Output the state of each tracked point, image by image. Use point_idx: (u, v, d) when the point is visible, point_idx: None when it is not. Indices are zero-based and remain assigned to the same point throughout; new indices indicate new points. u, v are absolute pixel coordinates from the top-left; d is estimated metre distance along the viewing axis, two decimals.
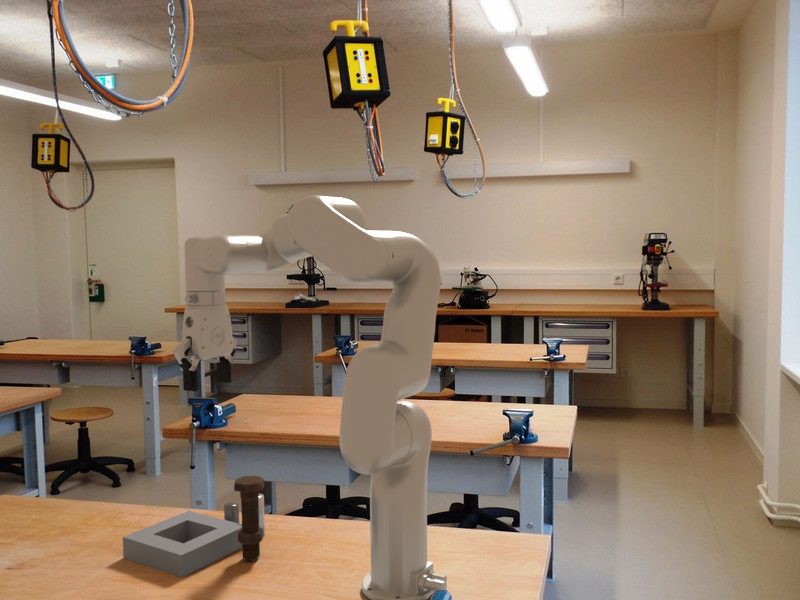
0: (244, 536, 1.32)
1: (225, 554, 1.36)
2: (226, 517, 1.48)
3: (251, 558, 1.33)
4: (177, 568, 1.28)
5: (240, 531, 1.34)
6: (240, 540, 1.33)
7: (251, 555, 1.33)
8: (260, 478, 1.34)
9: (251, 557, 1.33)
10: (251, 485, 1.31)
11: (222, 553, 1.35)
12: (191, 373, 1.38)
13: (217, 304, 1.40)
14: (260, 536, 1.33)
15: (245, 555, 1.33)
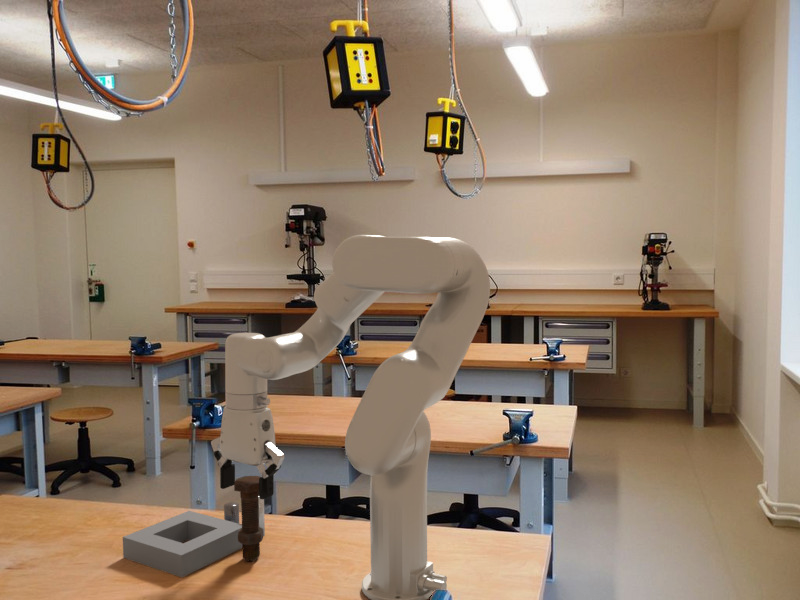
0: (244, 536, 1.32)
1: (225, 554, 1.36)
2: (226, 517, 1.48)
3: (251, 558, 1.33)
4: (177, 568, 1.28)
5: (240, 531, 1.34)
6: (240, 540, 1.33)
7: (251, 555, 1.33)
8: None
9: (251, 557, 1.33)
10: (251, 485, 1.31)
11: (222, 553, 1.35)
12: None
13: None
14: (260, 536, 1.33)
15: (245, 555, 1.33)
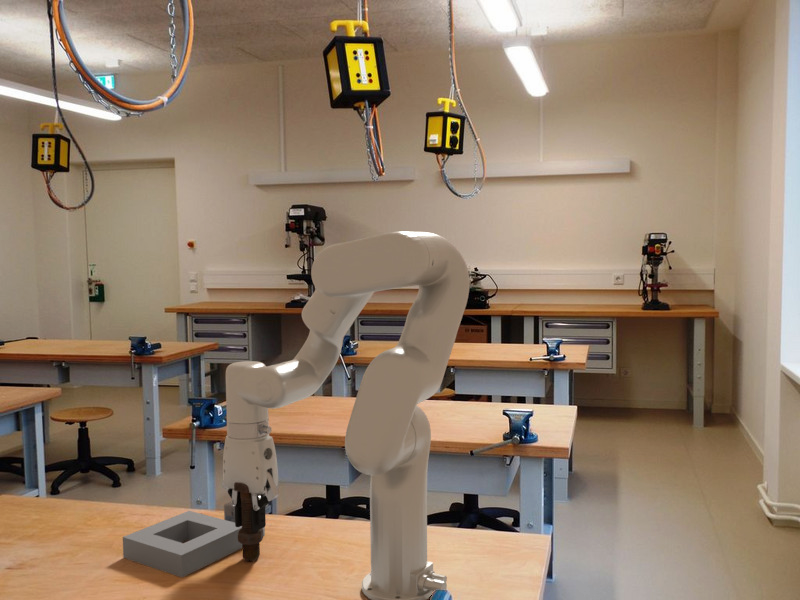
0: (244, 536, 1.32)
1: (225, 554, 1.36)
2: (226, 517, 1.48)
3: (251, 558, 1.33)
4: (177, 568, 1.28)
5: (240, 531, 1.34)
6: (240, 540, 1.33)
7: (251, 555, 1.33)
8: None
9: (251, 557, 1.33)
10: None
11: (222, 553, 1.35)
12: None
13: None
14: (260, 536, 1.33)
15: (245, 555, 1.33)
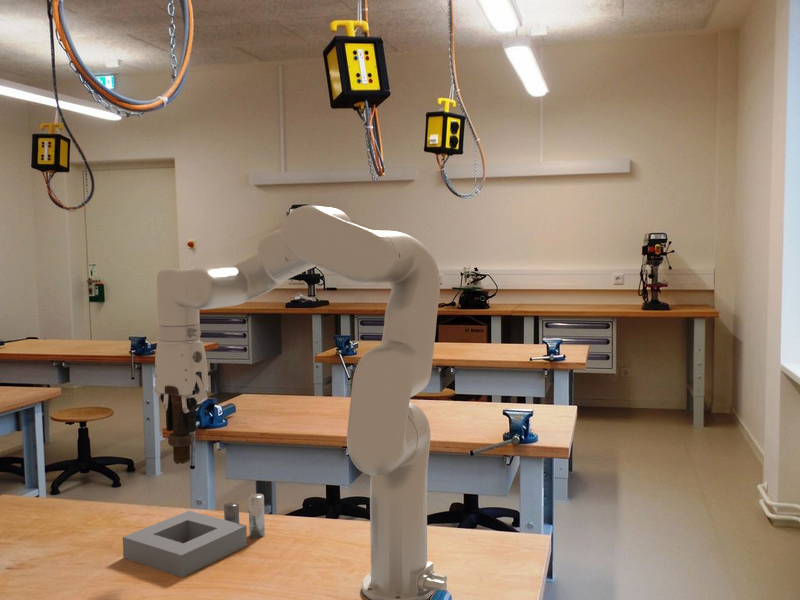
0: (174, 438, 1.35)
1: (225, 554, 1.36)
2: (226, 517, 1.48)
3: (181, 460, 1.36)
4: (177, 568, 1.28)
5: (171, 434, 1.36)
6: (170, 442, 1.35)
7: (181, 457, 1.36)
8: None
9: (181, 459, 1.36)
10: None
11: (222, 553, 1.35)
12: None
13: None
14: (190, 439, 1.36)
15: (175, 458, 1.36)
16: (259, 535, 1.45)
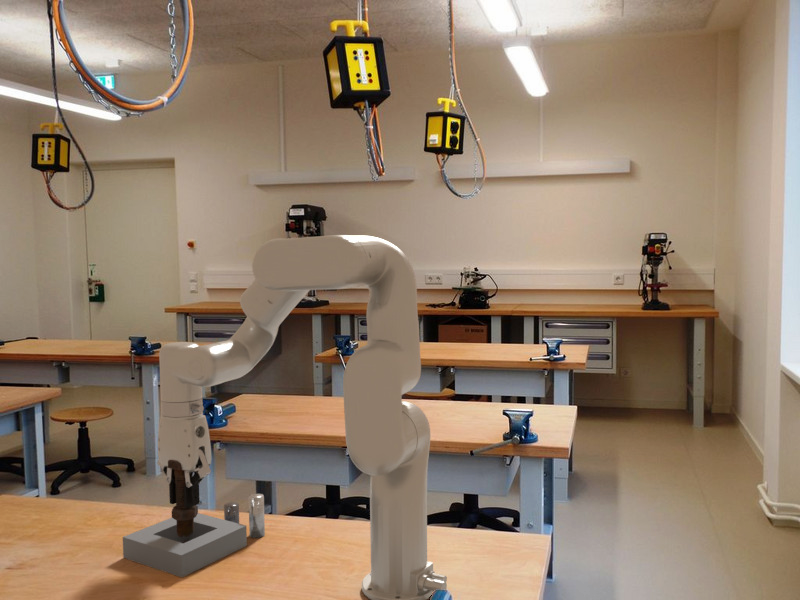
0: (178, 512, 1.36)
1: (225, 554, 1.36)
2: (226, 517, 1.48)
3: (184, 534, 1.37)
4: (177, 568, 1.28)
5: (174, 507, 1.37)
6: (174, 516, 1.36)
7: (184, 531, 1.37)
8: None
9: (185, 533, 1.37)
10: None
11: (222, 553, 1.35)
12: None
13: None
14: (193, 512, 1.37)
15: (179, 531, 1.37)
16: (259, 535, 1.45)
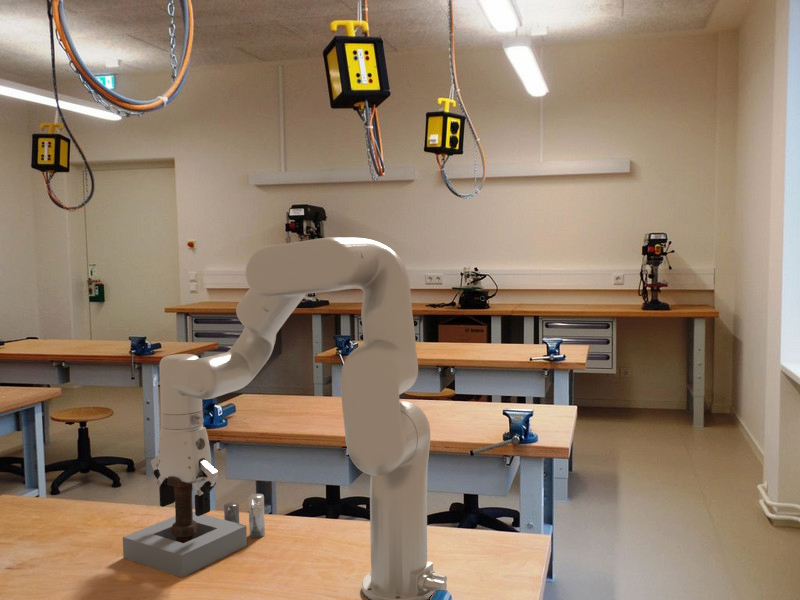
0: (177, 529, 1.36)
1: (225, 554, 1.36)
2: (226, 517, 1.48)
3: None
4: (177, 568, 1.28)
5: (174, 524, 1.38)
6: (173, 533, 1.37)
7: None
8: None
9: None
10: None
11: (222, 553, 1.35)
12: None
13: None
14: (193, 529, 1.37)
15: None
16: (259, 535, 1.45)
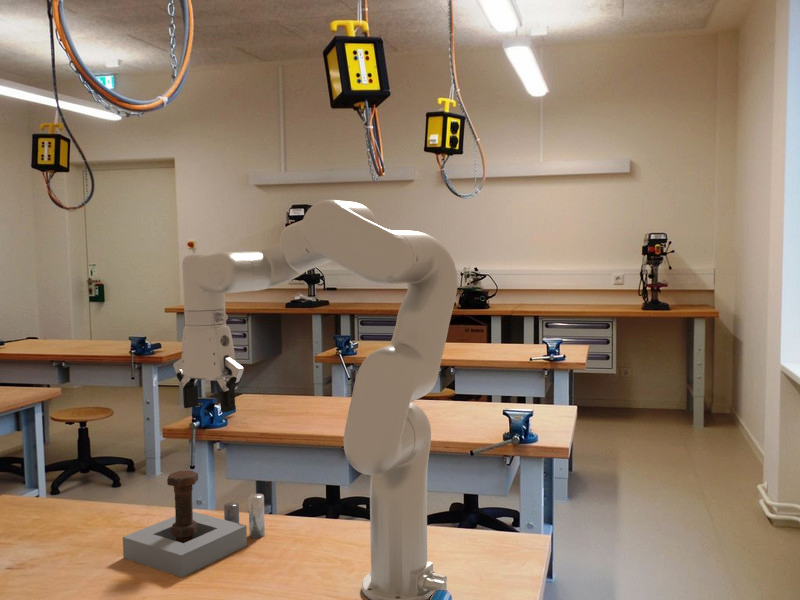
0: (177, 529, 1.36)
1: (225, 554, 1.36)
2: (226, 517, 1.48)
3: None
4: (177, 568, 1.28)
5: (174, 524, 1.38)
6: (173, 533, 1.37)
7: None
8: (193, 473, 1.38)
9: None
10: (184, 479, 1.35)
11: (222, 553, 1.35)
12: None
13: None
14: (193, 529, 1.37)
15: None
16: (259, 535, 1.45)
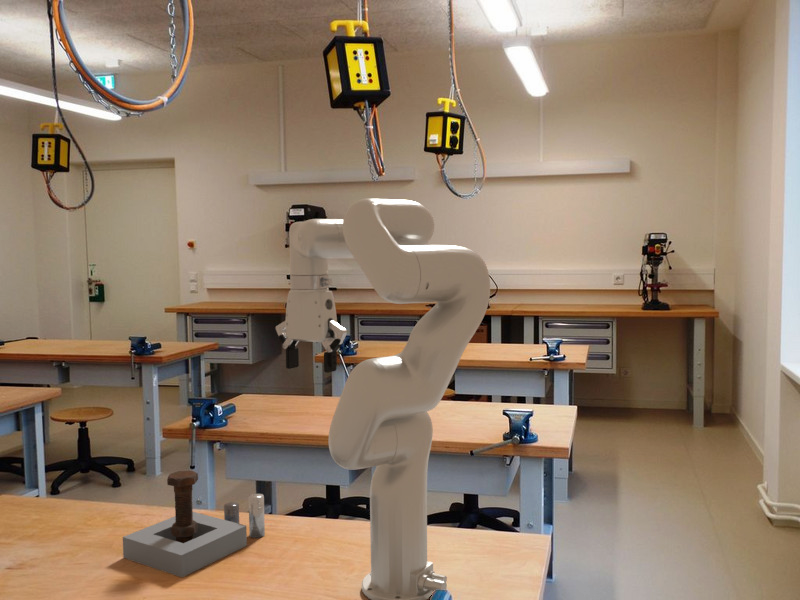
0: (177, 529, 1.36)
1: (225, 554, 1.36)
2: (226, 517, 1.48)
3: None
4: (177, 568, 1.28)
5: (174, 524, 1.38)
6: (173, 533, 1.37)
7: None
8: (193, 473, 1.38)
9: None
10: (184, 479, 1.35)
11: (222, 553, 1.35)
12: None
13: None
14: (193, 529, 1.37)
15: None
16: (259, 535, 1.45)
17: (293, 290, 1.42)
